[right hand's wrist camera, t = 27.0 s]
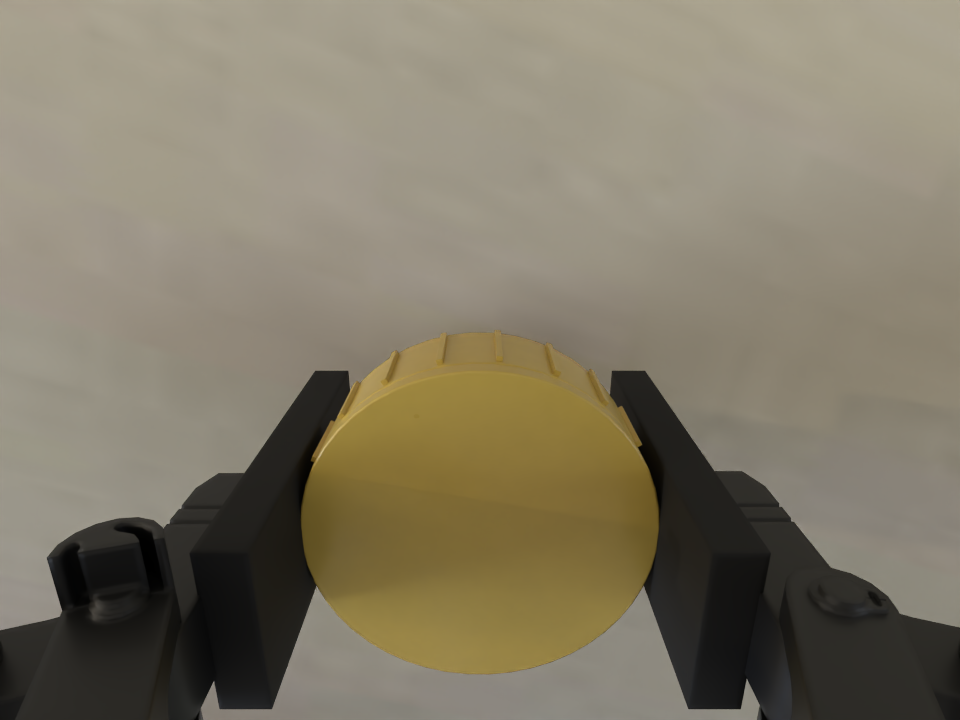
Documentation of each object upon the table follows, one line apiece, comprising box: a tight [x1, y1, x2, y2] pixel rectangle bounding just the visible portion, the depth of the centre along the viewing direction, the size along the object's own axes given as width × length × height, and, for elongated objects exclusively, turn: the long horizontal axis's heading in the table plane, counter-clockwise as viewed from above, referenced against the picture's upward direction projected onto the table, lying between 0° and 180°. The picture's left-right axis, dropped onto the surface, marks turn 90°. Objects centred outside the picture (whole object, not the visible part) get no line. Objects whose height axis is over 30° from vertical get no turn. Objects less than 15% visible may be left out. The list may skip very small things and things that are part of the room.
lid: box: [301, 330, 660, 674], centre depth 11 cm, size 6×6×2 cm
